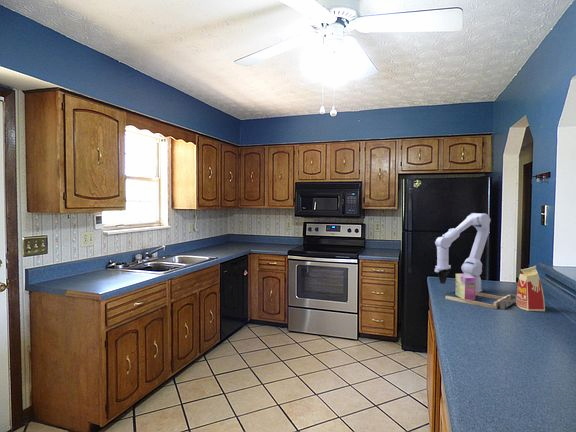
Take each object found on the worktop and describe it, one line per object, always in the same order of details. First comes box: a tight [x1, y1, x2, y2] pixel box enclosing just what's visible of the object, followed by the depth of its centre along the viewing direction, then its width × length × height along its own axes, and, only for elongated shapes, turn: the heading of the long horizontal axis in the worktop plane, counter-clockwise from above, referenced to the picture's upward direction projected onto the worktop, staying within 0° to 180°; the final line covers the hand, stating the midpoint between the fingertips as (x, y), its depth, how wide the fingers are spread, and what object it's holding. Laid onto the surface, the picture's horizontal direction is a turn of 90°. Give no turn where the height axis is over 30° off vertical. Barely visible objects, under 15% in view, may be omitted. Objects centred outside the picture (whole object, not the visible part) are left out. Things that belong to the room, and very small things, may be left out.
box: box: [455, 273, 476, 301], centre depth 183 cm, size 10×6×12 cm, turn 179°
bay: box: [445, 292, 517, 311], centre depth 178 cm, size 19×28×4 cm
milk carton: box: [515, 265, 546, 312], centre depth 164 cm, size 9×9×20 cm
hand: (442, 283), depth 192 cm, fingers closed
